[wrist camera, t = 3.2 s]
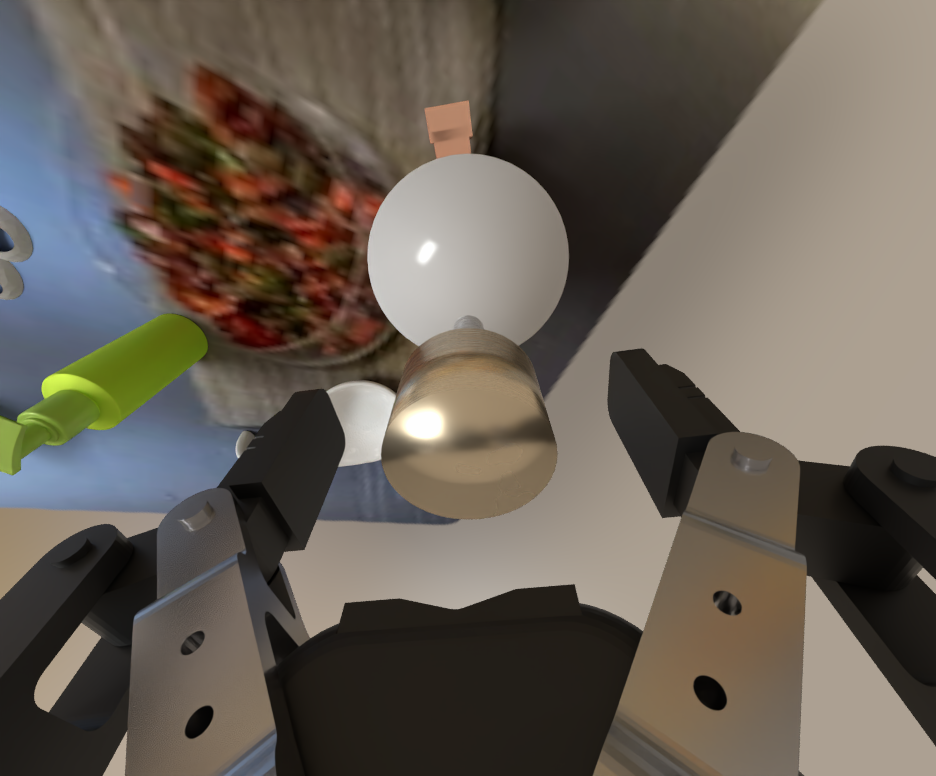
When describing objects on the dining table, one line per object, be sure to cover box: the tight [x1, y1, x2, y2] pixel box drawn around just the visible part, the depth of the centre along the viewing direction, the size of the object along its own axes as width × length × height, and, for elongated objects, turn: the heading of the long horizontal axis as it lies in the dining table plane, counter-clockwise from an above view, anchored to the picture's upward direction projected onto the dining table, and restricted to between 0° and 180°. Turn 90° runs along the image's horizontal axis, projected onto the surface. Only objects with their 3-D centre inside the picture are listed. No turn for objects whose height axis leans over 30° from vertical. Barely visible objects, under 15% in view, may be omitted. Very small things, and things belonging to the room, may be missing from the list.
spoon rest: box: [236, 380, 396, 467], centre depth 47 cm, size 24×12×7 cm, turn 110°
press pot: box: [368, 100, 569, 346], centre depth 28 cm, size 14×12×17 cm
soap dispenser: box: [0, 314, 208, 475], centre depth 34 cm, size 6×7×20 cm
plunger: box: [381, 315, 557, 519], centre depth 12 cm, size 4×4×7 cm
